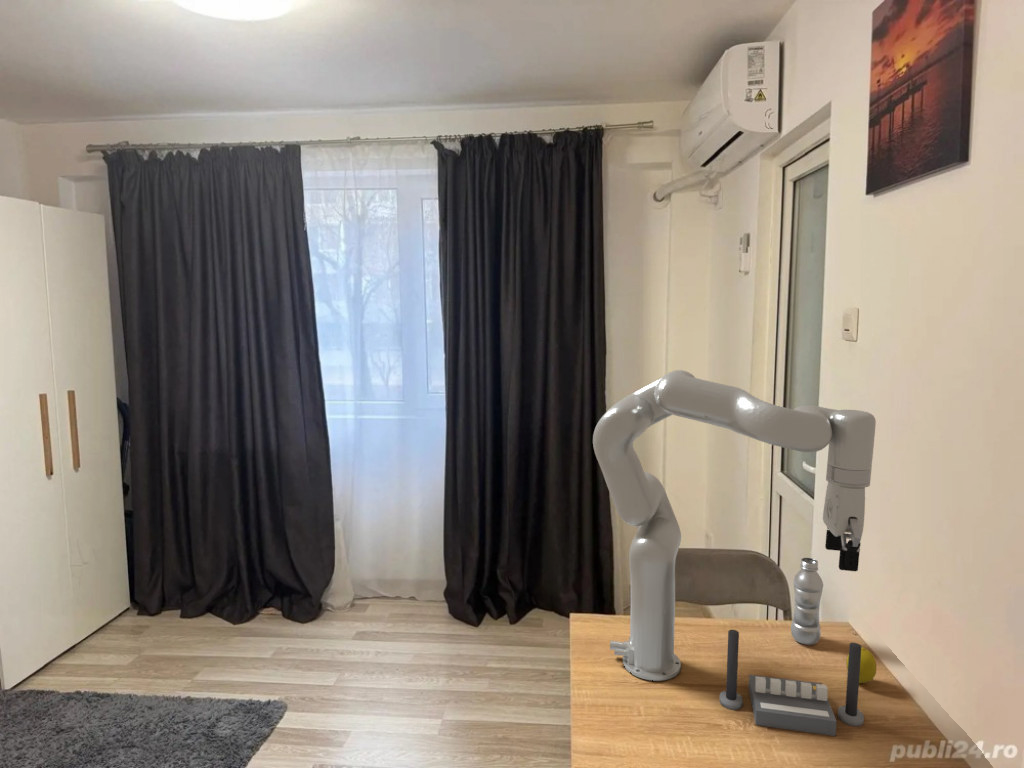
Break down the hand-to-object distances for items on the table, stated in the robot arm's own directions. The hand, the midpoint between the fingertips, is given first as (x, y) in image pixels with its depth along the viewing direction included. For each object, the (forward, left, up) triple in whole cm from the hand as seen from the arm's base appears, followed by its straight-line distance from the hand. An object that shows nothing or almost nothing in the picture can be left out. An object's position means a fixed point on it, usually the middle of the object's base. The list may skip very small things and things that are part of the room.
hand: (840, 559), depth 125 cm
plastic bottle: (-1, +23, -30) cm, 38 cm away
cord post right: (+2, -5, -30) cm, 31 cm away
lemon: (+7, +8, -30) cm, 32 cm away
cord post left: (-20, -5, -30) cm, 36 cm away
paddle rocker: (-9, -5, -27) cm, 28 cm away
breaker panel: (-9, -5, -30) cm, 32 cm away
